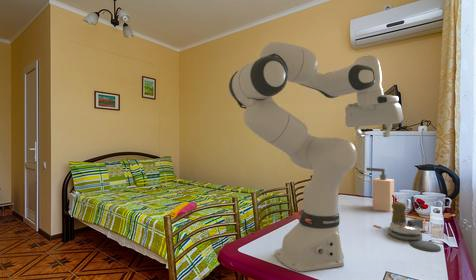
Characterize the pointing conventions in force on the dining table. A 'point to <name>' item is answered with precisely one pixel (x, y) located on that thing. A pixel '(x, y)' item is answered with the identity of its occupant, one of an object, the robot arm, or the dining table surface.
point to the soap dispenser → (382, 191)
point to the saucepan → (407, 227)
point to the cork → (398, 212)
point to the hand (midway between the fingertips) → (373, 137)
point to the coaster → (425, 246)
